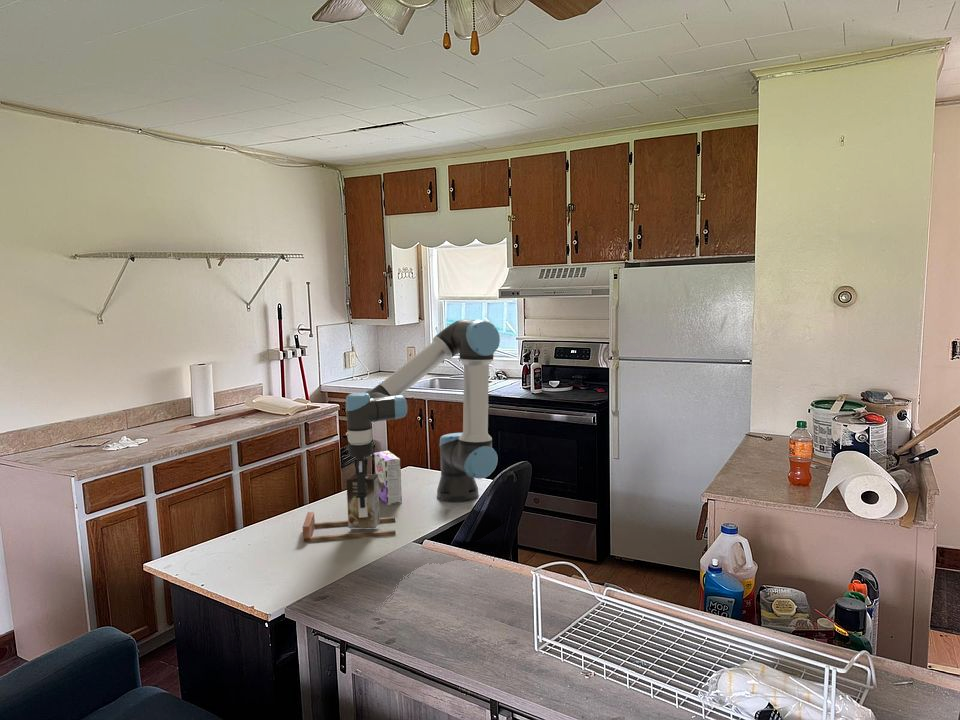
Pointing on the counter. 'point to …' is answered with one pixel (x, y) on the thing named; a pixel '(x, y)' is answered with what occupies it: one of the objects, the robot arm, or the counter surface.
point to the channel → (309, 529)
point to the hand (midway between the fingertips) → (363, 512)
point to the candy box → (388, 477)
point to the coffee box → (372, 502)
